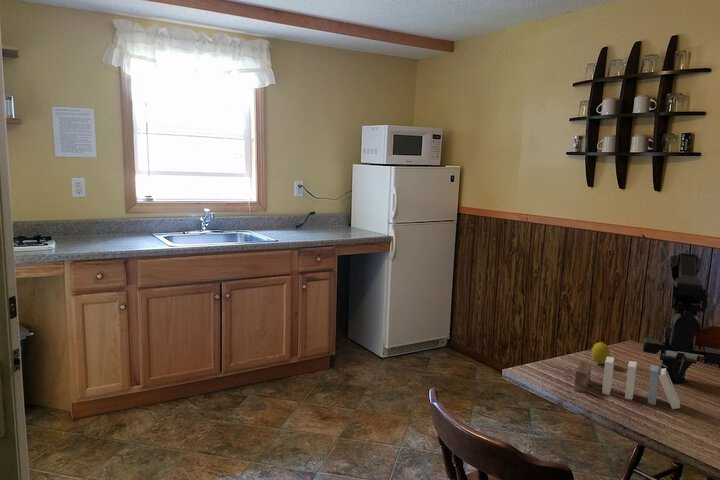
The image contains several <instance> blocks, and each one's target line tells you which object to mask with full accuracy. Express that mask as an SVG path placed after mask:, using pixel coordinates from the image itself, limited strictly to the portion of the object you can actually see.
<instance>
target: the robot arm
mask: <svg viewBox="0 0 720 480" xmlns="http://www.w3.org/2000/svg"><path fill="white" fill-rule="evenodd" d="M702 261H703V259H701V257H698V254H695V253H693V252H692V253H691V252H690V253H689V252H679V253H677V254H675V255H672V256H670V259H669V263H668V265H669V266H668V271H670V277H671V279H672V281H673V283H674V284H673V285H672V287H671V288H672V289H671V296H670V297H671V298H670V308H671V309H672V313H671V322H670V323H671V324H670V327H667V326H665V327H664V333H663V338H664V339H663V341H660V339H656V338H651V337H650V338H649V337H645V338H644V339H643V346H642V352H643V353H645V354H646V353H648V354H651V355H653V354H654V355H656V354H659V361H662V362H661V365H660V369H664V368H666V369H667V372H668V374H669V376H670V379H671V381H672V383H673V384H677V383H678V384H680V383H688V382H689V381H690V380H689V379H688V378H686V371H687V370H688V369H689V368H690V366H691V365H692V364H694V365H695V364H697V363H698V362H697V358H702V359H703V358H704V360H705V361H706V362H707V363H708V364H712V365H718V366H720V349H719V348H713V347H706V346H704V348H703V350H702V349H696V348H695V342H696V336H697V335H698V334H699V333H700V331H701V322H700V320H699V312H701V313H705V309H708V292H707V289H706V288H703V281H702V280H700V278H699V279H698V274H699V275H700V274H701V272H702V264H703V263H702Z"/></svg>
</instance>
